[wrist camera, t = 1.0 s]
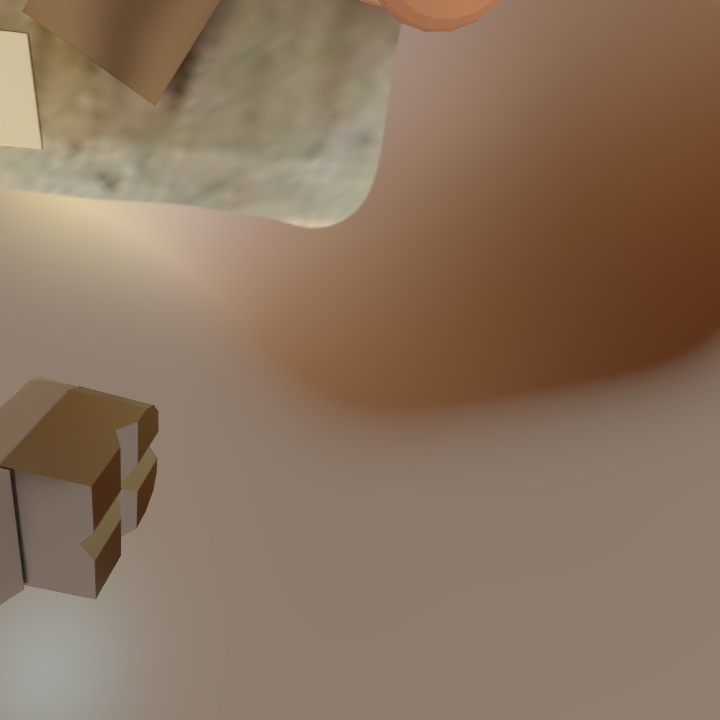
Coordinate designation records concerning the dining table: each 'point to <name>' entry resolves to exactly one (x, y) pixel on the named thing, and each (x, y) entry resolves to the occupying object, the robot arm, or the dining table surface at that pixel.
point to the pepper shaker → (436, 12)
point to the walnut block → (128, 35)
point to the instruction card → (18, 93)
